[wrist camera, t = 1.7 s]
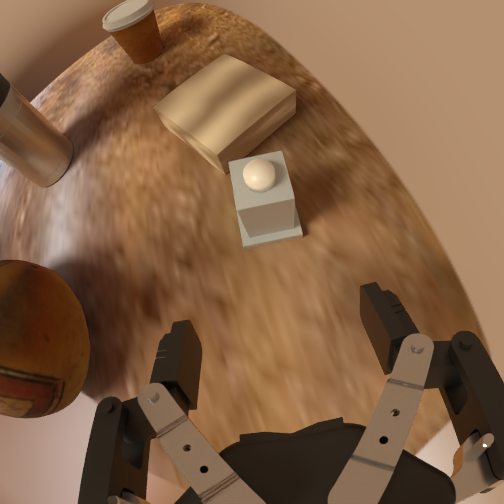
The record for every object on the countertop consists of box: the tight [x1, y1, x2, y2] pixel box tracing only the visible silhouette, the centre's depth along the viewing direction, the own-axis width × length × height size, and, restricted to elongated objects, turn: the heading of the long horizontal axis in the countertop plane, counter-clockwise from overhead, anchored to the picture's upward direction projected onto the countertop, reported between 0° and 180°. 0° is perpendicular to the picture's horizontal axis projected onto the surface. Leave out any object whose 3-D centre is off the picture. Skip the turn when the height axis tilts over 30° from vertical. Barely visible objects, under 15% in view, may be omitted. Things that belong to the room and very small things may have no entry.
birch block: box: [153, 54, 296, 175], centre depth 36 cm, size 13×13×5 cm
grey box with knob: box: [228, 151, 303, 249], centre depth 29 cm, size 6×6×10 cm
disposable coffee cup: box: [103, 0, 163, 64], centre depth 39 cm, size 10×10×12 cm
